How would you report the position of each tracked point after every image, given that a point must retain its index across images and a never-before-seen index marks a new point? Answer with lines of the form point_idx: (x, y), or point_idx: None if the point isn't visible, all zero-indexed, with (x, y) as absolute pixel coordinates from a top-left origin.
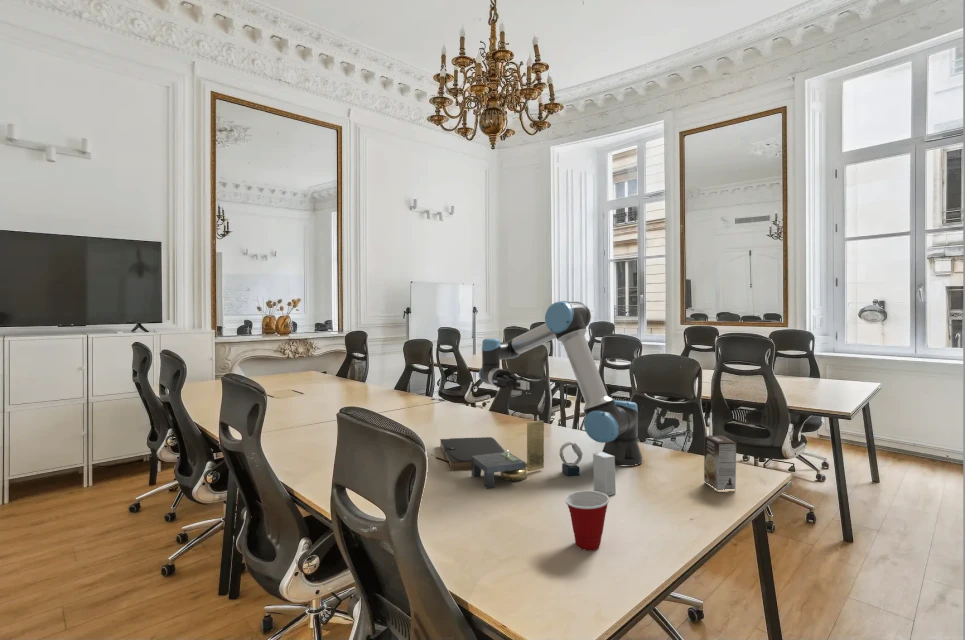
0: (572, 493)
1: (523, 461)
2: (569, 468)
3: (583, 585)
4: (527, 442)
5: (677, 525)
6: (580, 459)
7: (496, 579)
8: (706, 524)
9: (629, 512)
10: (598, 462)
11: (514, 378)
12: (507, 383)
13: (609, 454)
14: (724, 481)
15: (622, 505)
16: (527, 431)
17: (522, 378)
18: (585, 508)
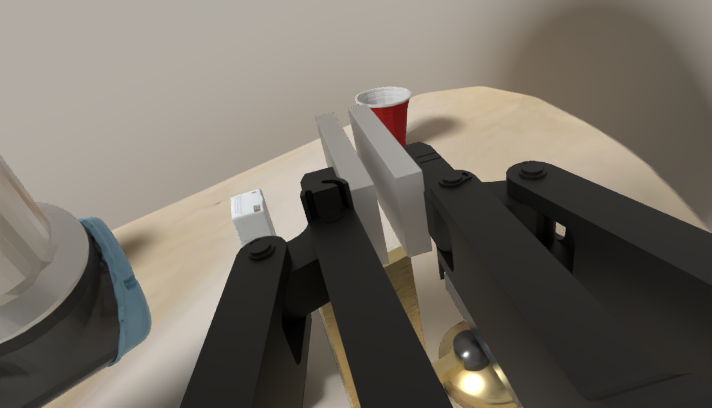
0: (395, 102)
1: (450, 281)
2: None
3: (418, 114)
4: (419, 322)
5: (251, 190)
6: None
7: (500, 109)
8: (213, 194)
9: (286, 212)
10: (267, 212)
11: (429, 388)
12: (575, 264)
13: (232, 205)
14: None
15: (279, 229)
16: (413, 285)
17: (324, 181)
18: (393, 88)
